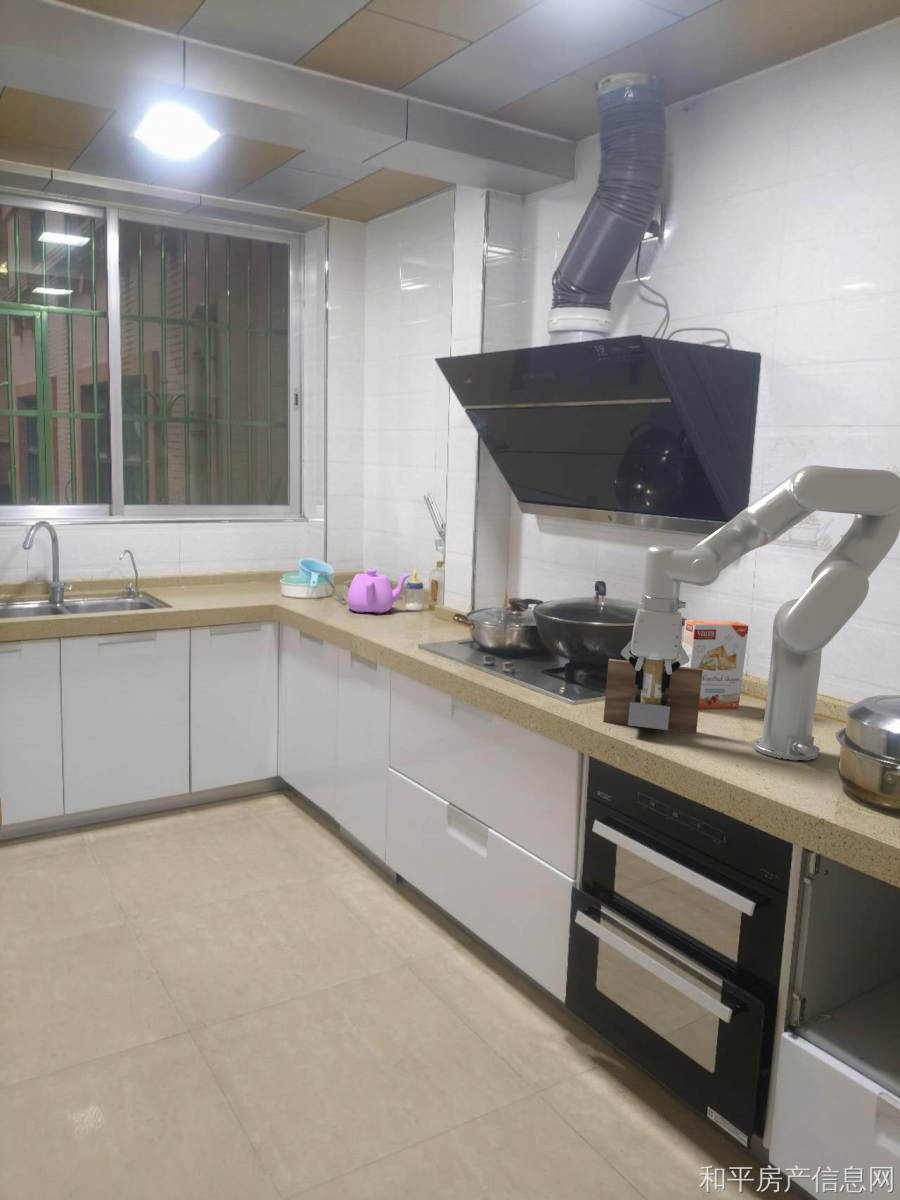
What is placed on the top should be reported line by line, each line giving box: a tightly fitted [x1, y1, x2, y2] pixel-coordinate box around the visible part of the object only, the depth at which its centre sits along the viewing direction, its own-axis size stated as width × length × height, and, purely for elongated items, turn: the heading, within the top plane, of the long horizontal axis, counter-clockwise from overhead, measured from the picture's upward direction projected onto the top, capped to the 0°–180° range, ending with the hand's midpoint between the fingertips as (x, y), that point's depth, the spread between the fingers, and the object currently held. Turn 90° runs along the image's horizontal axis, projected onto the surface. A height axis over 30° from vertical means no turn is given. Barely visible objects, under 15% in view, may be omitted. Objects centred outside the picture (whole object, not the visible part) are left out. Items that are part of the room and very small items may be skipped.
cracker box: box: [680, 619, 749, 710], centre depth 219 cm, size 14×6×21 cm, turn 101°
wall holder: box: [603, 658, 703, 734], centre depth 195 cm, size 11×20×14 cm, turn 75°
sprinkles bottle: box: [641, 652, 665, 705], centre depth 193 cm, size 5×5×14 cm
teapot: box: [346, 568, 412, 615], centre depth 327 cm, size 23×21×15 cm
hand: (651, 688), depth 194 cm, fingers closed on sprinkles bottle, 4 cm apart
